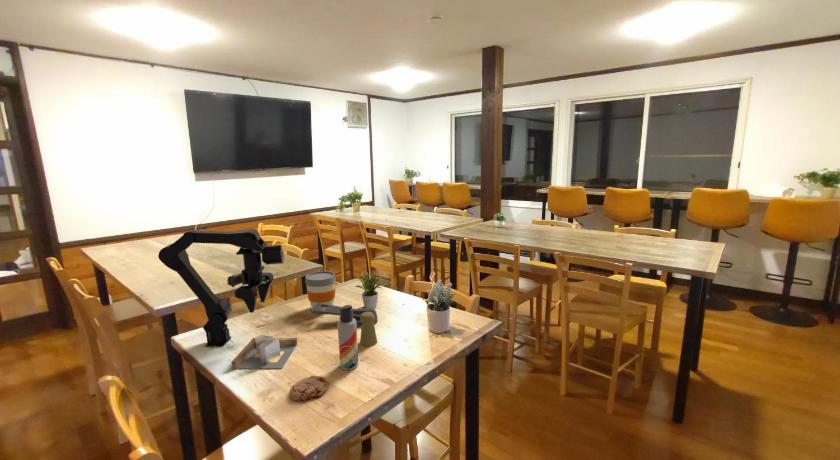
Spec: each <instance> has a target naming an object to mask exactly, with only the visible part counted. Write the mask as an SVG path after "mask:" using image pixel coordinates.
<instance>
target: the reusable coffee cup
mask: <svg viewBox="0 0 840 460" xmlns="http://www.w3.org/2000/svg"><path fill="white" fill-rule="evenodd" d="M336 281H337V280H336V274H335V272H333V271H330V270H329V271H328V270H323V271H322V270H320V271H314V272H311V273H308V274H306V276H305V281H304V283H305V285H306V294H307V298H308V302H309V303H310V308H311V310H312V309H313V307H314V306H315V305H316V304H318V303H322V304H328V305H333V306H335V305H334V304H335V303H334V302H335V298H336V289H337V288H336ZM326 308H327V307H320V309H319V310H321V311H325V310H326Z"/></svg>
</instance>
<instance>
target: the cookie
mask: <svg viewBox="0 0 840 460" xmlns="http://www.w3.org/2000/svg"><path fill="white" fill-rule="evenodd" d="M328 387H329V384H328V382H327V381H326V377H323V376H320V375H319V376H318V375H311V376H308V377H304V378H302V379H301V380H298V381H296V382H295V383H294V384H293V385H292V386H291V387H290V389H289V398H290V400H292V401H294V402H300V401H306V400H309V399H312V398H315V397H321V396H323V394H325V392H327V390H328Z"/></svg>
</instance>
